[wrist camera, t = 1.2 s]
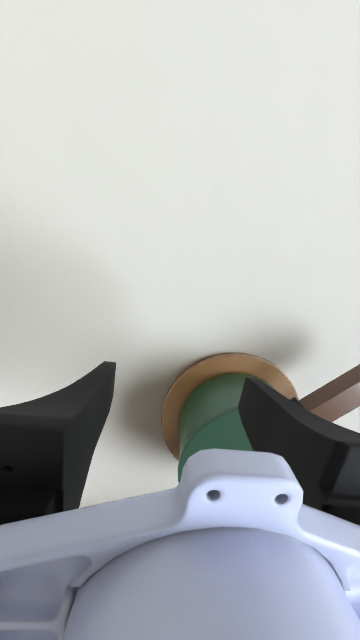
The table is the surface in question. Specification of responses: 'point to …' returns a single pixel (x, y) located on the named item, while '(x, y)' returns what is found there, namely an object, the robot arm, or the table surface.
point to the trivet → (210, 370)
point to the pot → (224, 420)
